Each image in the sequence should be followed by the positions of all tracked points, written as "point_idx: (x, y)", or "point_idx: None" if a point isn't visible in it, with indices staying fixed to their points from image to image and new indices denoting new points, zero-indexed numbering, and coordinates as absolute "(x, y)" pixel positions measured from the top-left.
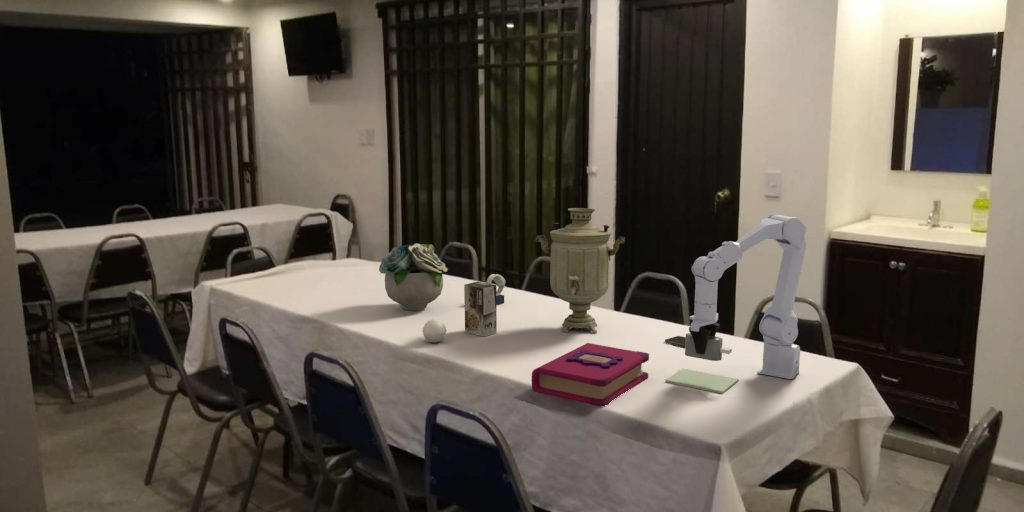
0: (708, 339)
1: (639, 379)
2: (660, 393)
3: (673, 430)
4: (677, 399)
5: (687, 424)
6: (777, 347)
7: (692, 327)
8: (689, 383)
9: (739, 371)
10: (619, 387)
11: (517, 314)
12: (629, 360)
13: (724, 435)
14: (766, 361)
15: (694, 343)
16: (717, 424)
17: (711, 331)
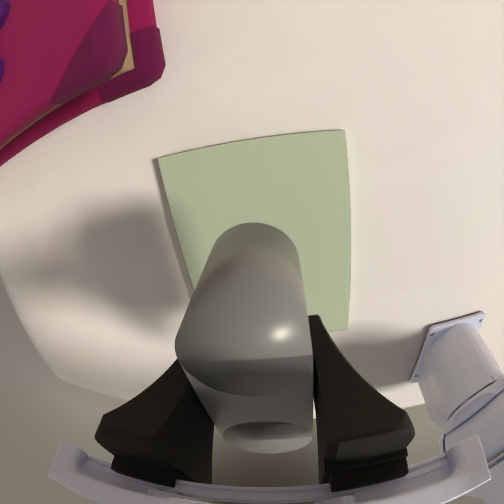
0: (223, 430)
1: (83, 107)
2: (77, 215)
3: (22, 324)
4: (86, 272)
5: (44, 333)
6: (446, 415)
7: (62, 461)
8: (192, 245)
9: (433, 286)
10: (7, 142)
11: None
12: (6, 100)
13: (72, 378)
14: (443, 363)
15: (175, 361)
16: (83, 366)
17: (318, 444)
